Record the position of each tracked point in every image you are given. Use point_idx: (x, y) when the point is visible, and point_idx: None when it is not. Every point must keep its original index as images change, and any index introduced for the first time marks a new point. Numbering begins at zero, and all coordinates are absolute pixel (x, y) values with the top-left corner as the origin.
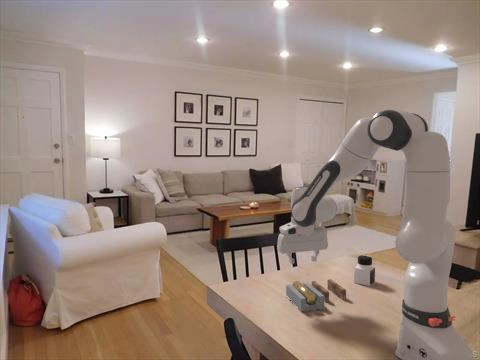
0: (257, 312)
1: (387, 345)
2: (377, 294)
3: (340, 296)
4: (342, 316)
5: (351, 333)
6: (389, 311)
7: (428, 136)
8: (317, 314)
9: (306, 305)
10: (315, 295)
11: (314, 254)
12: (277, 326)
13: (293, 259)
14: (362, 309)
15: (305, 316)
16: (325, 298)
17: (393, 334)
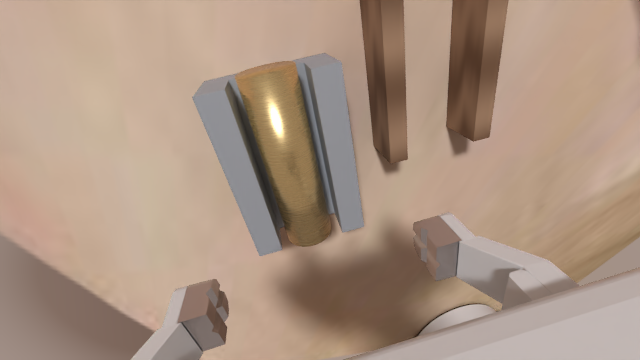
0: (77, 231)
1: (409, 326)
2: (600, 76)
3: (452, 112)
4: (382, 237)
5: (364, 303)
6: (523, 204)
7: None
8: None
9: (282, 223)
10: (327, 236)
11: (481, 258)
12: None
13: (213, 345)
14: (463, 195)
15: None
16: (379, 151)
17: (447, 295)
